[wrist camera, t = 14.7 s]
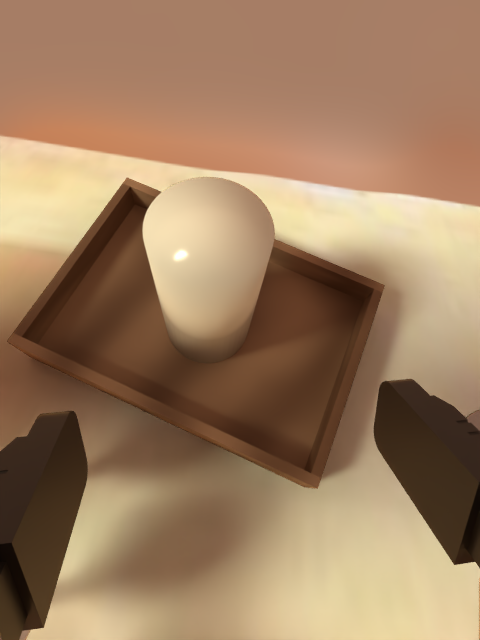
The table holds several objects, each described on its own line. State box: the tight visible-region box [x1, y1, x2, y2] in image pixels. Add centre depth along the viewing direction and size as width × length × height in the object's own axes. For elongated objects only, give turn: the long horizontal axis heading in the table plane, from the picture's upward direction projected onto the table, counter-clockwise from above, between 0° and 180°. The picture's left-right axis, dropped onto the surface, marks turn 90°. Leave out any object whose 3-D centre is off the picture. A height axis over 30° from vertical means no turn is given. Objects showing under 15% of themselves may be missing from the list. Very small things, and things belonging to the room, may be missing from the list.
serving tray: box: [7, 178, 385, 489], centre depth 26 cm, size 20×14×3 cm
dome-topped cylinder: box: [142, 177, 275, 363], centre depth 21 cm, size 6×6×11 cm
